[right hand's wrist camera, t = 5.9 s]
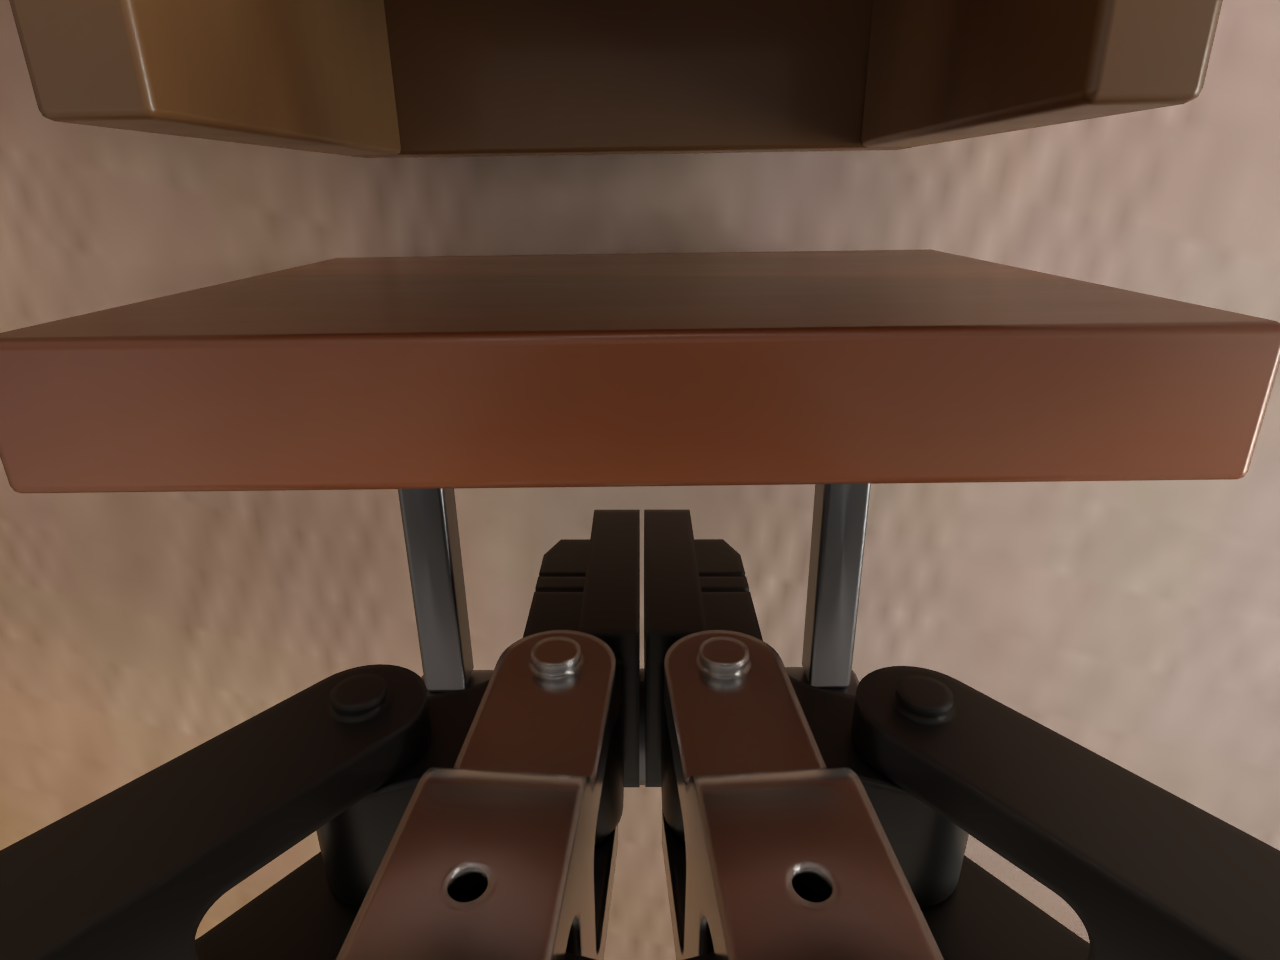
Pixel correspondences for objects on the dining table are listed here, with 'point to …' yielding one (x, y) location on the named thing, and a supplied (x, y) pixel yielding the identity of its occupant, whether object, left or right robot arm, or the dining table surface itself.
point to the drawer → (624, 276)
